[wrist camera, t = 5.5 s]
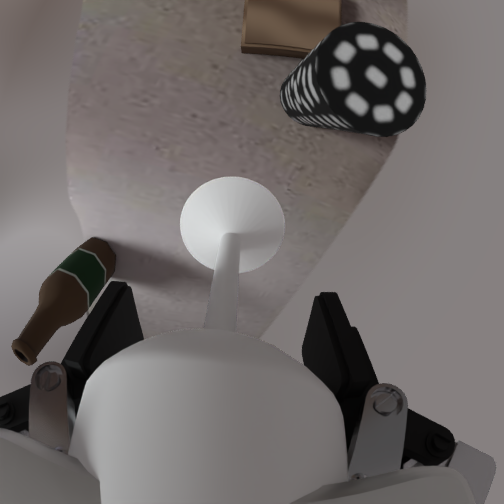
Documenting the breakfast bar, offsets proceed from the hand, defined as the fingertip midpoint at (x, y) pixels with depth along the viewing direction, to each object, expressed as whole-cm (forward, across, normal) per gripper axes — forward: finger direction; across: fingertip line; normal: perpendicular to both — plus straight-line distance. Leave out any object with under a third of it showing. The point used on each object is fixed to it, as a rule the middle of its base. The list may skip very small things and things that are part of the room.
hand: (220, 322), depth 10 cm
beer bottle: (+30, +24, +15) cm, 41 cm away
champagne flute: (+9, 0, 0) cm, 9 cm away
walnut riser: (+30, -5, -22) cm, 37 cm away
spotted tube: (+30, -9, -10) cm, 33 cm away
